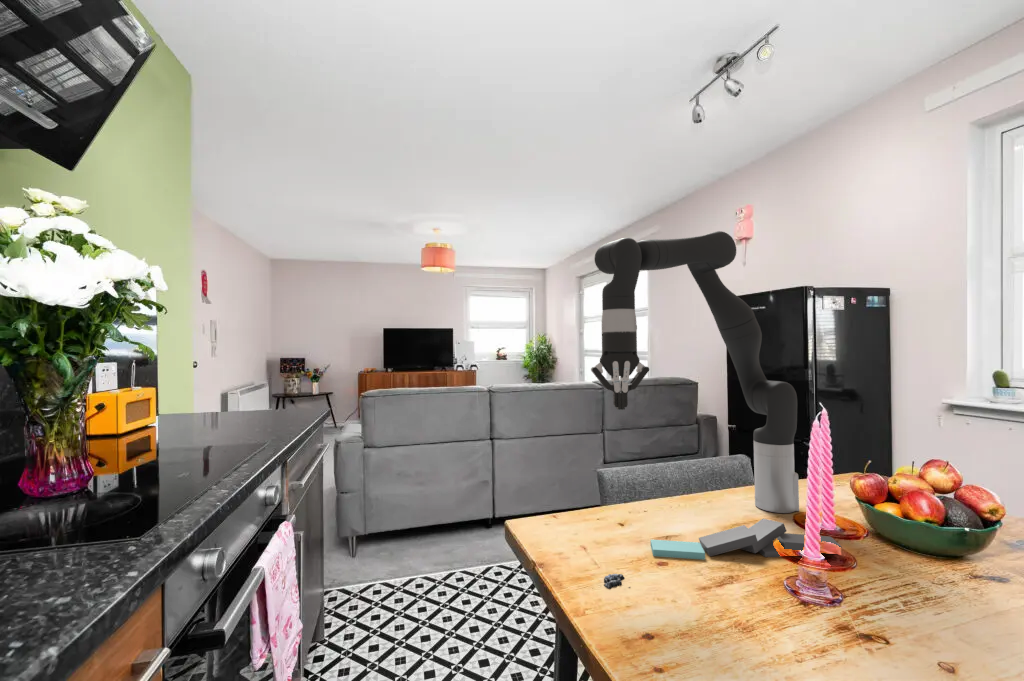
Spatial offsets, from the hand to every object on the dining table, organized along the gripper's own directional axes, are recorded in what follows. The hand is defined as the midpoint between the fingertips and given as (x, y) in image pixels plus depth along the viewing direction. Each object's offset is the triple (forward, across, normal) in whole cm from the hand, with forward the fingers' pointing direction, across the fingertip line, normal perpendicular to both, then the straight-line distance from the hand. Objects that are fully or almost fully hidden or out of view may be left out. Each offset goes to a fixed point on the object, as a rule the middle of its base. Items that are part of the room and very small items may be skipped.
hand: (620, 409), depth 101 cm
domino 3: (+29, -27, +4) cm, 40 cm away
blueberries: (+30, +5, +18) cm, 35 cm away
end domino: (+29, -5, +4) cm, 29 cm away
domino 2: (+28, -24, +5) cm, 37 cm away
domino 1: (+28, -16, +4) cm, 33 cm away
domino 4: (+27, -32, +4) cm, 42 cm away
